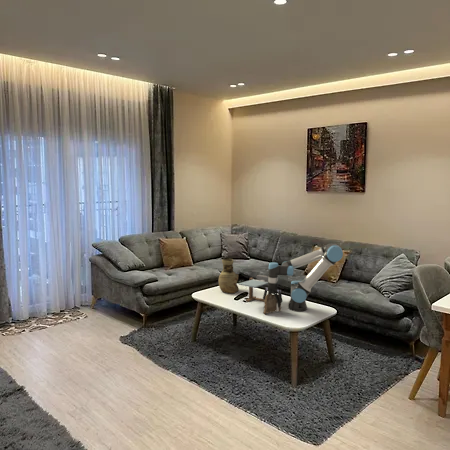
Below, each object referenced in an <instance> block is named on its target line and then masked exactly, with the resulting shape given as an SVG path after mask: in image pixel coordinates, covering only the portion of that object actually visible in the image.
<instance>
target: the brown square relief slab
mask: <svg viewBox="0 0 450 450" xmlns="http://www.w3.org/2000/svg"><path fill="white" fill-rule="evenodd" d="M277 295H278V293H277ZM282 295H283V294H282V293H281V296H282ZM278 297H279V295H278ZM277 303H278V302H277V300H276V297H275V295H274V294H272V295H266V297H265V302H264V307H263V314H264V315H265V316H266V315H267V314H269V313H270V312H271V313H273V312H281V311H282V303H280V307H279V311H277Z"/></svg>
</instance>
